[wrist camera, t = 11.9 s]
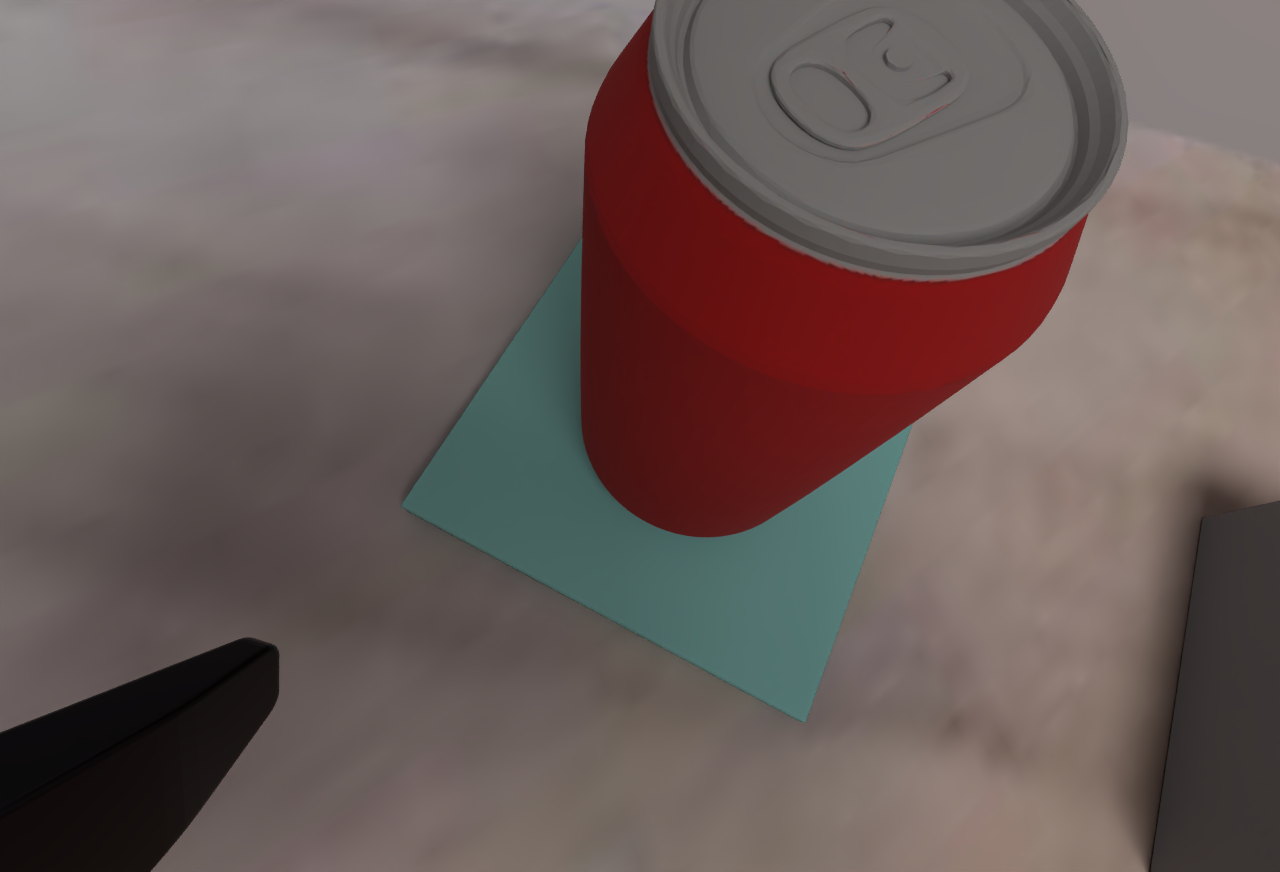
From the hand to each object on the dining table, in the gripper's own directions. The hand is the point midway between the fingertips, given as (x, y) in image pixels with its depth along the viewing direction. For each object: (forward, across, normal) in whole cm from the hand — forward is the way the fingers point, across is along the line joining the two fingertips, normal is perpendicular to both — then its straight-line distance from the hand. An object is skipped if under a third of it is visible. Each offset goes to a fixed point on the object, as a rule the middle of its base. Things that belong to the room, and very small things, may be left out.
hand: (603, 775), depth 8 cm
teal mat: (+12, 0, 0) cm, 12 cm away
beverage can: (+12, 0, -1) cm, 12 cm away
